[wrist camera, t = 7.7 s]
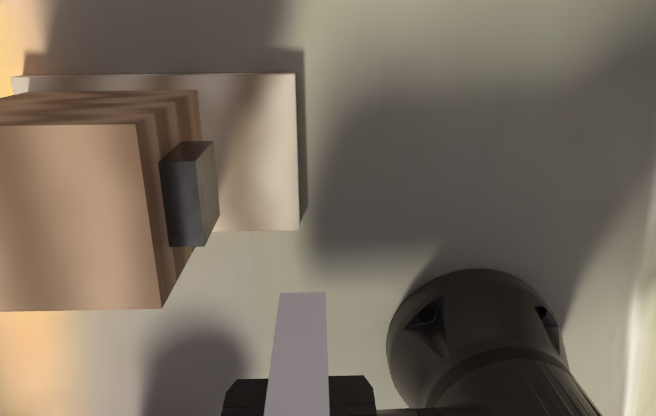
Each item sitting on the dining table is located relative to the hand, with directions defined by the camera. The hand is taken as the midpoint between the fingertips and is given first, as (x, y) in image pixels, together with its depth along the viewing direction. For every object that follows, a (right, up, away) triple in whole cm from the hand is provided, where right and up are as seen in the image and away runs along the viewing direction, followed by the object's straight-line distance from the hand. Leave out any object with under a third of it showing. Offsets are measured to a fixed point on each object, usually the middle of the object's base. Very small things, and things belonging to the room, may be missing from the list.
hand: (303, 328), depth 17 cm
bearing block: (-11, +8, +22) cm, 26 cm away
